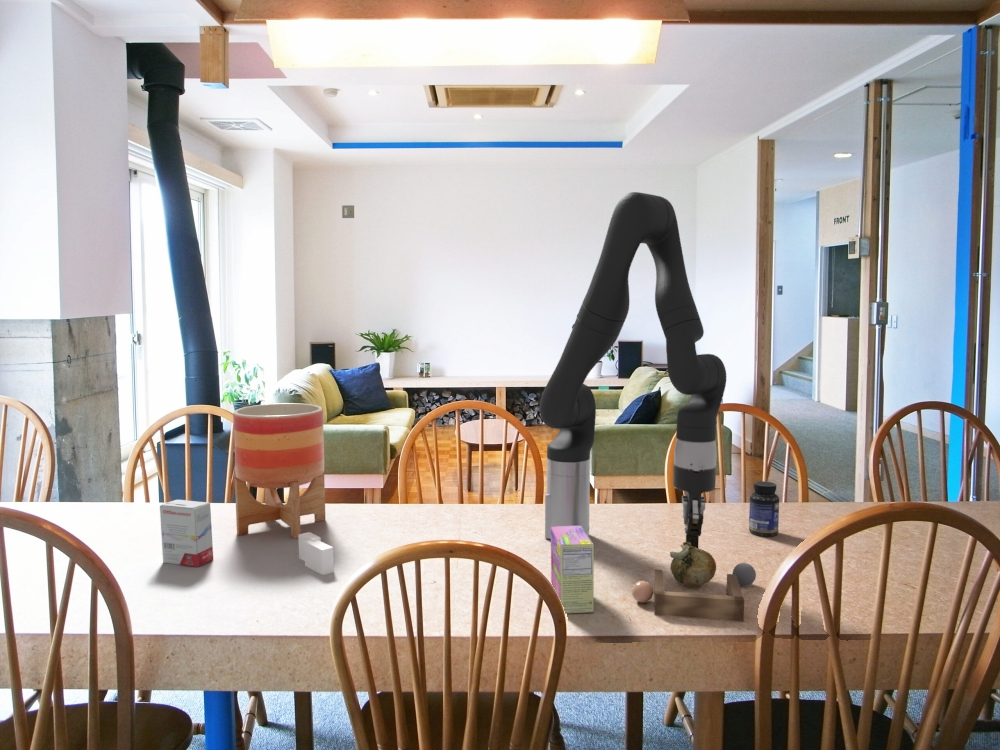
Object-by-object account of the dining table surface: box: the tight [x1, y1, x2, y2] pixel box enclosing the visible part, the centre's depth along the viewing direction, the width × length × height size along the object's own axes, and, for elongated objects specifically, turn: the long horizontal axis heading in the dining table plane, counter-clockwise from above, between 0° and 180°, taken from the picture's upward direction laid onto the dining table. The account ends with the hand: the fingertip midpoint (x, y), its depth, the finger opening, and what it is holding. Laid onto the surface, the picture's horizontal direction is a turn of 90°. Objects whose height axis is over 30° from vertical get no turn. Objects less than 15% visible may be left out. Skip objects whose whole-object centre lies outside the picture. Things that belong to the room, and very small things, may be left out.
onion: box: [669, 541, 717, 588], centre depth 138 cm, size 8×8×8 cm
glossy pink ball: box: [631, 580, 654, 604], centre depth 131 cm, size 4×4×4 cm
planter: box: [232, 402, 326, 539], centre depth 171 cm, size 20×20×27 cm
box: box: [550, 526, 595, 615], centre depth 130 cm, size 10×6×12 cm, turn 5°
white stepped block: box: [297, 531, 335, 576], centre depth 149 cm, size 15×11×6 cm
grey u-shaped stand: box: [653, 568, 745, 622], centre depth 130 cm, size 14×12×4 cm
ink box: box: [159, 499, 214, 568], centre depth 150 cm, size 9×5×12 cm, turn 71°
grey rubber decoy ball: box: [732, 562, 757, 587], centre depth 138 cm, size 4×4×4 cm
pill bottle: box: [748, 480, 780, 538], centre depth 167 cm, size 6×6×11 cm
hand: (691, 553), depth 143 cm, fingers closed
